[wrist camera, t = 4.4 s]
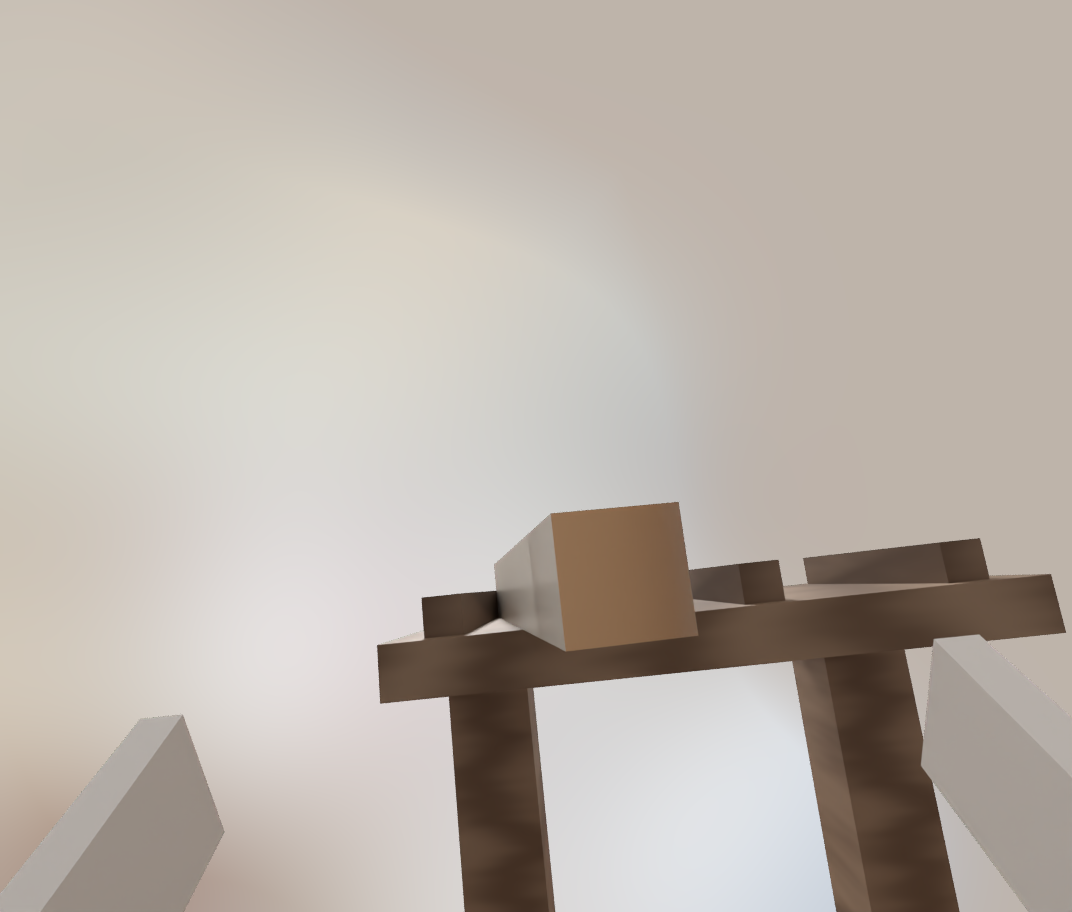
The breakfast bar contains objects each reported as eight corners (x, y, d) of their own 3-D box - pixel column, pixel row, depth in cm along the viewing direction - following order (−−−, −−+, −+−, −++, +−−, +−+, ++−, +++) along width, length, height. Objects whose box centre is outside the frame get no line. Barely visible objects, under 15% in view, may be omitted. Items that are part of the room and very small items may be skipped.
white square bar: (565, 651, 14) (550, 513, 15) (498, 617, 37) (494, 564, 38) (698, 635, 14) (678, 501, 15) (550, 611, 38) (544, 559, 38)
